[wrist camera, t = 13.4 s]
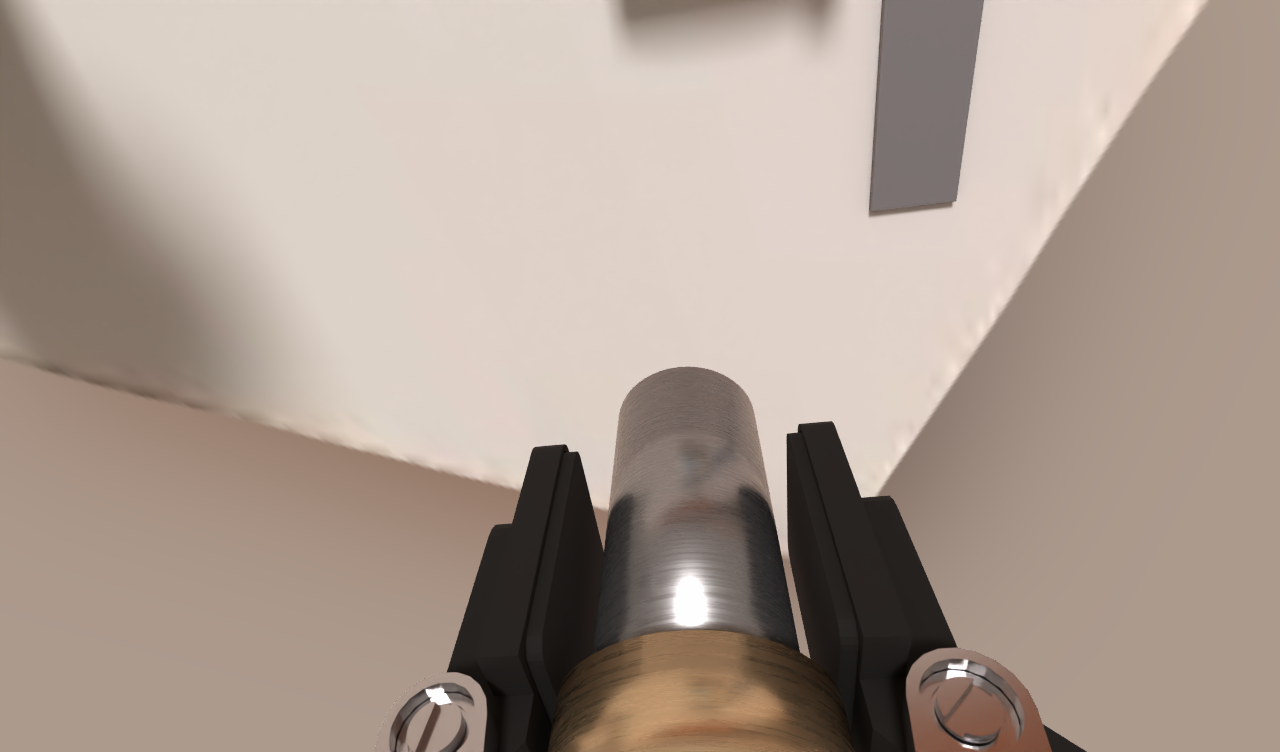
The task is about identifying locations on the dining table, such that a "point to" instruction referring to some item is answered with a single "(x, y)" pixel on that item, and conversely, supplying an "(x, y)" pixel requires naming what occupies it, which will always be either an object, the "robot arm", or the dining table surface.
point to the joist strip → (922, 100)
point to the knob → (694, 593)
